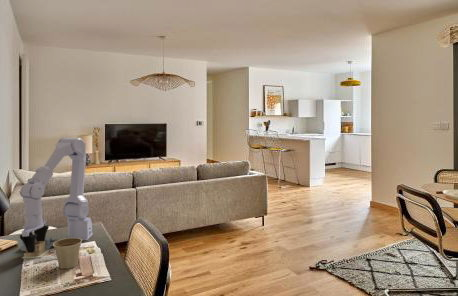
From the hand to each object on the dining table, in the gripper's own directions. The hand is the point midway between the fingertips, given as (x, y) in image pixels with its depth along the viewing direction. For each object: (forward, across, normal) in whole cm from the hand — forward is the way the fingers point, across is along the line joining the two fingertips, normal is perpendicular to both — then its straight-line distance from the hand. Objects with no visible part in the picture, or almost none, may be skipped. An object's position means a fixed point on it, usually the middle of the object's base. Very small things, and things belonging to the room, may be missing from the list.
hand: (36, 248), depth 135 cm
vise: (+2, -8, -2) cm, 8 cm away
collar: (+2, 0, 0) cm, 2 cm away
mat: (+2, 0, 0) cm, 2 cm away
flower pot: (+3, +12, +17) cm, 21 cm away
